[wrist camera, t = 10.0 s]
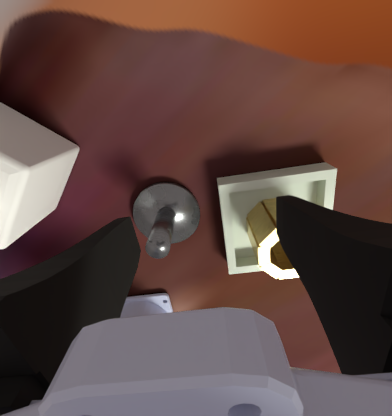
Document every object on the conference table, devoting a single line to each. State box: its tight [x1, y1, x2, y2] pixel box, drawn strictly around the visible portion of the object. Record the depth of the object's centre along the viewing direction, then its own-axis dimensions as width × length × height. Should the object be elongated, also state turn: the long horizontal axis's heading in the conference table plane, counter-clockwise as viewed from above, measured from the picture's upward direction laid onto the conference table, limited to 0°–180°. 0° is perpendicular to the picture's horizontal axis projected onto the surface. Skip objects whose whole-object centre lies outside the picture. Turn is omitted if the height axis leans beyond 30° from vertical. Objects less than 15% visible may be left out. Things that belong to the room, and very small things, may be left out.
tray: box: [217, 162, 337, 274], centre depth 22 cm, size 10×10×2 cm
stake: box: [133, 182, 200, 258], centre depth 20 cm, size 6×6×6 cm
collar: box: [246, 198, 299, 279], centre depth 21 cm, size 5×6×5 cm
